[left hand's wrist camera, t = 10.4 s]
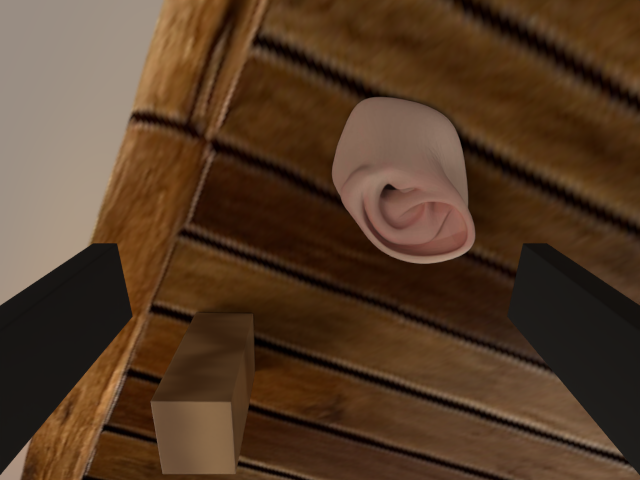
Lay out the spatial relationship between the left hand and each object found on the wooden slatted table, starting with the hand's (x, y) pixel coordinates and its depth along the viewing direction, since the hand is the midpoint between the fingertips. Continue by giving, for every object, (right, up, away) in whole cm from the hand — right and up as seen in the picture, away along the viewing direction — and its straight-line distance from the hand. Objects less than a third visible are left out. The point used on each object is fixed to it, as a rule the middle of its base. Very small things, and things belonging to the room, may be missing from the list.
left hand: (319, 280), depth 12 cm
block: (-9, -9, +25) cm, 28 cm away
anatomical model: (+7, +7, +19) cm, 22 cm away
